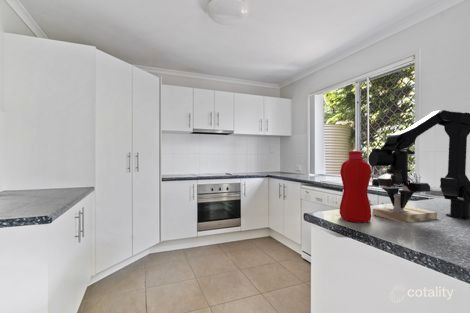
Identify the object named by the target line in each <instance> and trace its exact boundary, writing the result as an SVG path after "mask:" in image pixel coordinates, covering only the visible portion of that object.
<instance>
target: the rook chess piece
mask: <svg viewBox="0 0 470 313" xmlns="http://www.w3.org/2000/svg"><path fill="white" fill-rule="evenodd" d="M393 197H394V198H395V200H394V201H395V203H394V208H393V209H392V211H394V212H398V213H405V211H404V209H402V208H401V194H400V193H398V194H394V196H393Z"/></svg>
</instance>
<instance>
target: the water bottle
mask: <svg viewBox="0 0 470 313" xmlns="http://www.w3.org/2000/svg"><path fill="white" fill-rule="evenodd" d="M339 174H340V178H341V182H342V187H343V189H342V190H343V192H342V197H341V201H340V205H339V215H340V218H342V219H344V220H345V221H347V222H351V223H368V222H370V221H371V219H372V208H371V204H370V200H369V195H368V191H369V190H368V188H371V187H374V186H373V185H372V184H371V186H370V181H371V178H372V180H374V176H373V172H372V169H371V165H370V164H369V162H367V161H365V160H364V156H363V152H362V151H359V150H351V151H349V152H348V159H347V160H345V161H344V162H343V163H342V164H341V166H340V171H339Z"/></svg>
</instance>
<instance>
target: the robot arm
mask: <svg viewBox="0 0 470 313" xmlns="http://www.w3.org/2000/svg"><path fill="white" fill-rule="evenodd" d="M436 125H438V126H442V127H444V128H443V129H444V132H445V133H446V134H447V136H448V138H449V139H448V140H449V141H448V157H447V158H448V160H447V163H448V164H447V174H446V176H444V177H440V179H439V180H440V181H439V182H440V185H439V189H440V190H441V193H442V194H443V197H444V199H445V200H450V205H449V206H450V208H449V210H450V212H449V213H446V214H445V216H448V217H453V218H458V219H463V220H470V179H469V178H468V176H467V175H466V169H467V168H466V167H467V166H466V165H467V144H468V143H467V141H468V140H467V139H468V136H469V135H470V112H460V111H450V110H445V109H440V110H435V111H432V112H430V113H429V114H428V115H426V116H424V117H423V118H422V119H420V120H418V121H417V122H415V123H414V124H412V125H411V126H409V127H407V128H406V129H402V130H400V131H397V132H394V133H392V134H390V135H388V136H387V138H386V142H385V143H384V144H383V146H382V147H381V148H371V152H370V153H369V155H368V158H367V160H368V164H369V165H370V167H389V168H387V169H386V173H384V174H382V175H380V176H378V177H377V178H373V179H372V182H371V186H372V185H373V186H372V187H381V189H382V190H383V191H385V192H386V193H387V194H388V197H389V200H390V202H391V204H392V207H394V203H395V201H394V200H395V198H394V197H393V196H394V194H400V195H401V208H402V209H403V208H405V206H407V204H408V203H409V201H410V199H411V198H412V196H413V194H415V193H427V192H431V186H430V185H429V183H428V182H419V181H417V182H415V181H414V182H411V180H410V179H409V173H411V169H410V168H409V155H414V154H415V152H414V151H413V150H411V148H409V147H410V146H412V145H413V143H415V142H416V140H417V138H418V137H419V136H420V135H422V134H424V133H426V132H427V131H428V130H430V129H432V128H433V127H435V126H436ZM399 188H401V189H402V190H400V189H399Z"/></svg>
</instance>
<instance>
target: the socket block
mask: <svg viewBox="0 0 470 313" xmlns="http://www.w3.org/2000/svg"><path fill="white" fill-rule="evenodd" d="M393 208H394V207H393V206H389V207H388V206H386V207H376V208H372V210H371V216H372V215H373V216H375V215H376V216H375V217H379V216H380V217H379V218H382V217H384V218H383V219H386V218H387V220H390V219H391V221H394V220H395V221H394V222H397V221H398V222H399V223H403V224H404V223H413V222H422V221H429V220H430V221H431V220H437V219H438V211H433V210H429V209H424V208H418V207H413V206H407V205H406V206H405V208H403V209H404V211H405V213H398V212H394V211H392V209H393Z"/></svg>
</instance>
